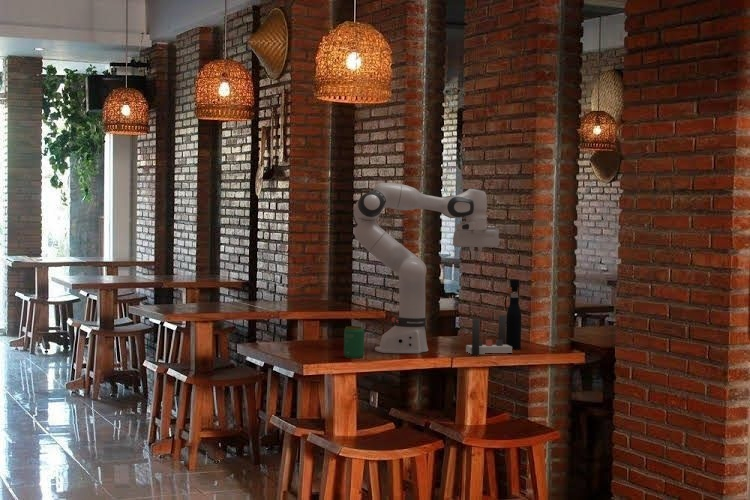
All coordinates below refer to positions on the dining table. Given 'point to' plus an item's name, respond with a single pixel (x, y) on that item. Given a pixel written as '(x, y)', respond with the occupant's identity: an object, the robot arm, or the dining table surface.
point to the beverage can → (354, 342)
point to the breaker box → (491, 349)
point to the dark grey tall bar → (475, 336)
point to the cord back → (502, 328)
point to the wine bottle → (513, 318)
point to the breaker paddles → (489, 342)
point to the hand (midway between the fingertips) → (475, 257)
